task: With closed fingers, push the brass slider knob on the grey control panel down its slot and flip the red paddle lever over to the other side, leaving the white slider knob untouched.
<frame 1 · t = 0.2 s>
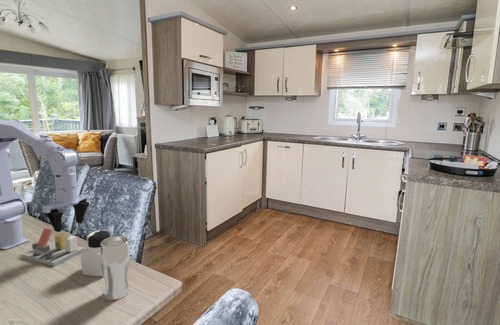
hand: (69, 226, 90), 10 cm above the table, fingers open, 7 cm apart
medicine bottle: (100, 270, 84), on the table
brass slider: (61, 241, 93), point 4 cm above the table, slide at 0.0 cm
white slider: (71, 243, 91), point 4 cm above the table, slide at 0.0 cm
panel: (55, 254, 92), on the table
red paddle: (44, 239, 93), point 4 cm above the table, hinge at -30.0°
beer glass: (116, 293, 74), on the table
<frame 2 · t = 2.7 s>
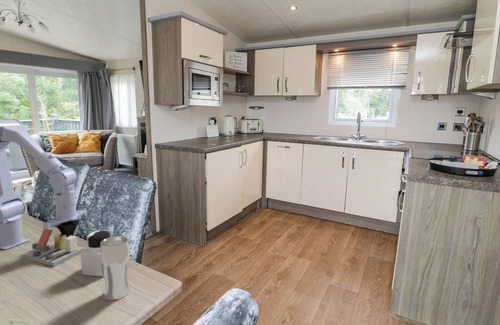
hand: (68, 241, 95), 3 cm above the table, fingers closed
brass slider: (60, 241, 93), point 4 cm above the table, slide at 0.2 cm, touching gripper
everything else where it was.
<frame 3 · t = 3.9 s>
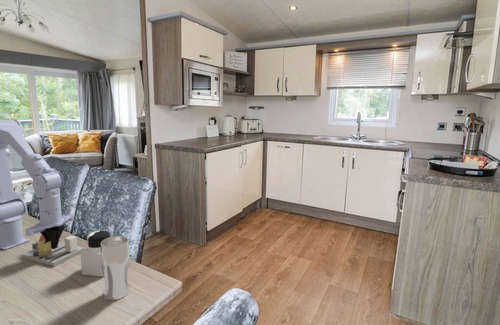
hand: (53, 247, 90), 3 cm above the table, fingers closed
brass slider: (44, 248, 88), point 4 cm above the table, slide at 5.5 cm, touching gripper
everything else where it was.
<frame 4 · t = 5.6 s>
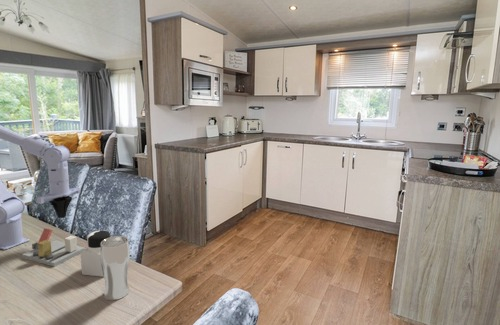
hand: (61, 217, 98), 10 cm above the table, fingers closed
brass slider: (44, 248, 88), point 4 cm above the table, slide at 5.5 cm
everything else where it was.
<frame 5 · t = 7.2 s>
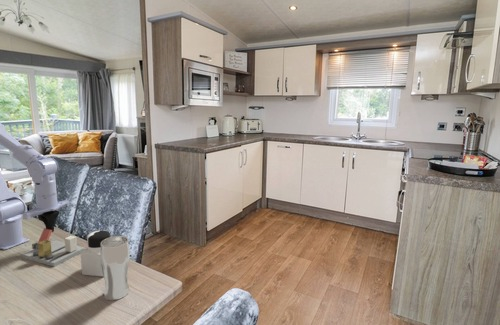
hand: (50, 231, 94), 6 cm above the table, fingers closed, pressing on red paddle
red paddle: (44, 238, 93), point 4 cm above the table, hinge at -28.9°, touching gripper
everything else where it was.
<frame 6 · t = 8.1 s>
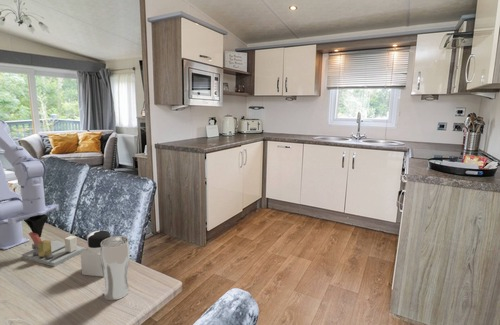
hand: (37, 237, 90), 6 cm above the table, fingers closed, pressing on red paddle
red paddle: (37, 241, 91), point 5 cm above the table, hinge at 19.3°, touching gripper
everything else where it was.
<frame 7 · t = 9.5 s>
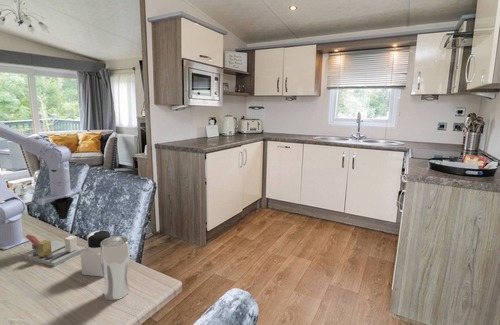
hand: (63, 218, 97), 10 cm above the table, fingers closed
red paddle: (35, 242, 90), point 4 cm above the table, hinge at 30.7°
everything else where it was.
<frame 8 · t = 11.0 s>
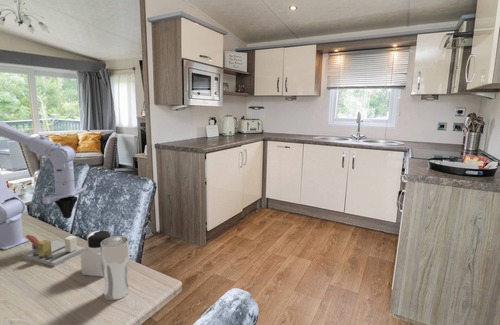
hand: (67, 217, 98), 10 cm above the table, fingers closed
red paddle: (35, 242, 90), point 4 cm above the table, hinge at 31.1°
everything else where it was.
at the end: brass slider slide at 5.5 cm; red paddle at +31° (first picture: -30°); white slider slide at 0.0 cm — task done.
